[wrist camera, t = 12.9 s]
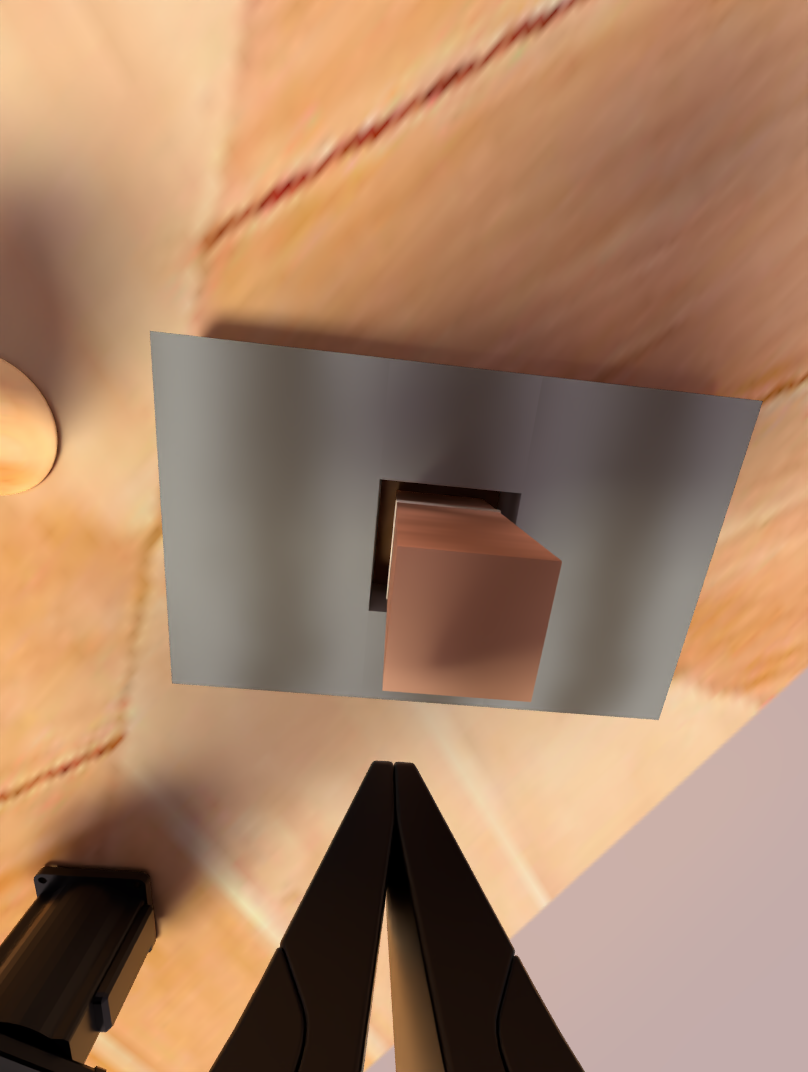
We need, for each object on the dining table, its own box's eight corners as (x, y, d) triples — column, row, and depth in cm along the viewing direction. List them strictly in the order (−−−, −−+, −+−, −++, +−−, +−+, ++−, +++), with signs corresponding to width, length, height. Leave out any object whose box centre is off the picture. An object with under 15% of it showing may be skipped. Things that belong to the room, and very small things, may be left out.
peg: (387, 572, 19) (380, 691, 10) (396, 488, 18) (395, 543, 9) (470, 579, 19) (532, 703, 10) (483, 497, 18) (564, 559, 9)
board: (205, 646, 20) (172, 683, 17) (194, 349, 16) (149, 331, 13) (622, 679, 21) (658, 720, 18) (700, 406, 17) (762, 401, 14)
